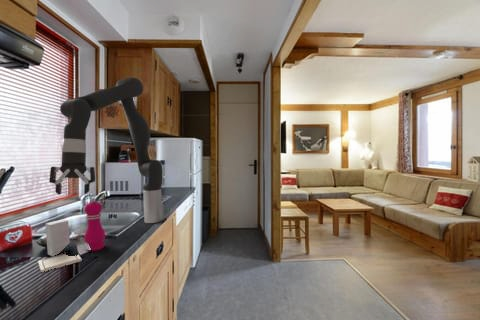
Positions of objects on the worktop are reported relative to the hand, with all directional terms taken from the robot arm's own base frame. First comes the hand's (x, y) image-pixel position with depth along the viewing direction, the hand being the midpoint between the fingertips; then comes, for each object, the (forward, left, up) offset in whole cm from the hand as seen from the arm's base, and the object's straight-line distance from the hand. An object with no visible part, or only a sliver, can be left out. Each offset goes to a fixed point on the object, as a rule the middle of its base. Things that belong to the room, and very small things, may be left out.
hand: (72, 194), depth 91 cm
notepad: (+6, +6, -22) cm, 24 cm away
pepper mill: (-6, +2, -23) cm, 23 cm away
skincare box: (+5, -4, -23) cm, 23 cm away
